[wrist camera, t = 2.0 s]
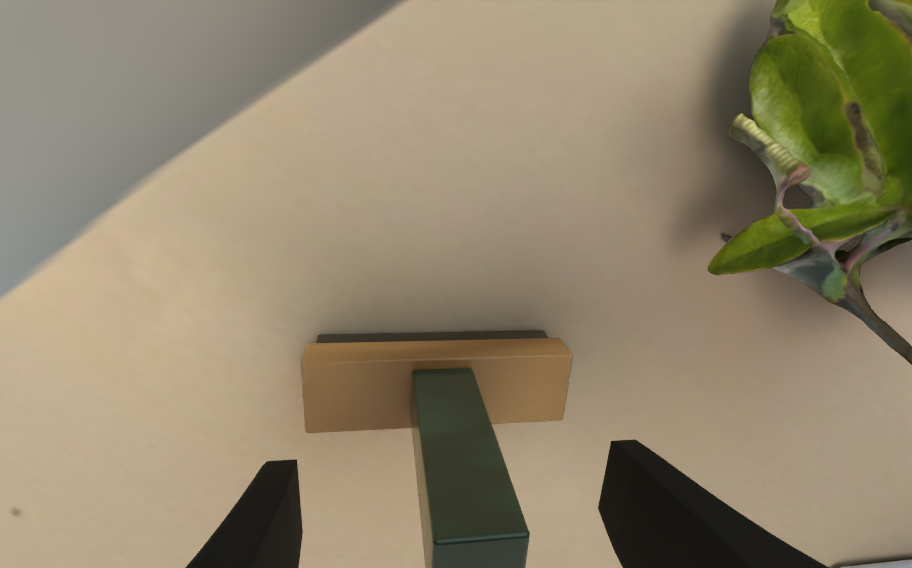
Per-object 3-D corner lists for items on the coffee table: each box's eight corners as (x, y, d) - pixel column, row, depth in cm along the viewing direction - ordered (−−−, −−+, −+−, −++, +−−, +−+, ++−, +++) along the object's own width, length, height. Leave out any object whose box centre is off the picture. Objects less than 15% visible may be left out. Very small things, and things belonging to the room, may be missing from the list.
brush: (550, 323, 17) (691, 508, 9) (542, 384, 18) (666, 598, 10) (310, 328, 16) (244, 545, 8) (314, 392, 16) (258, 645, 9)
